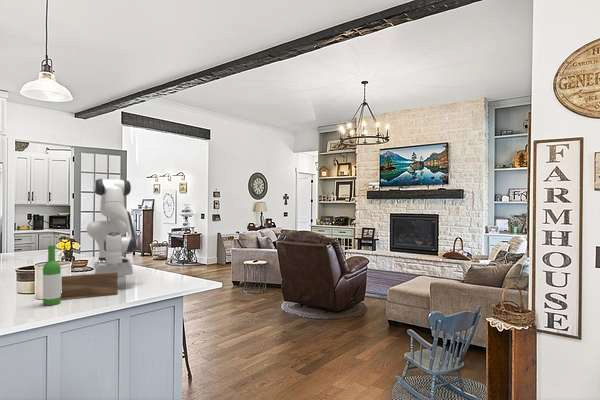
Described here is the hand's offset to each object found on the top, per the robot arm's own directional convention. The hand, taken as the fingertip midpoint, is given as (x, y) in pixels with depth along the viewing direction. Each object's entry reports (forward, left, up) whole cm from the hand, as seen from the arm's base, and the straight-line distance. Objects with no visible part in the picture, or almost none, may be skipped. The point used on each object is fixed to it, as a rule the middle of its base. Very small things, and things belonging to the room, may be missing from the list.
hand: (114, 283), depth 225 cm
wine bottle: (+21, -28, -4) cm, 35 cm away
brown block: (+8, -12, -4) cm, 15 cm away
